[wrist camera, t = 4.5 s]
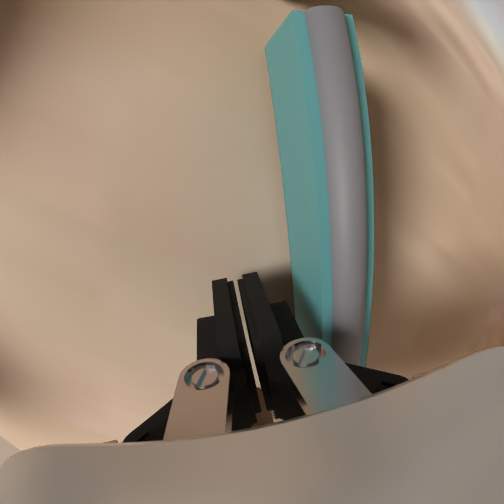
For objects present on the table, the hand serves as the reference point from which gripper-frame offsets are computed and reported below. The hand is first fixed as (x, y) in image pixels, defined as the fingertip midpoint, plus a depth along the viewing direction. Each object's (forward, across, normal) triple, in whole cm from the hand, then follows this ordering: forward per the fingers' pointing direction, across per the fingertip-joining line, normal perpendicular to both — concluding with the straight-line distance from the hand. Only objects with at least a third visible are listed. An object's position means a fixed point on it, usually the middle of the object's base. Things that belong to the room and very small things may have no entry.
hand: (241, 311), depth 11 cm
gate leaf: (+1, -3, -2) cm, 4 cm away
